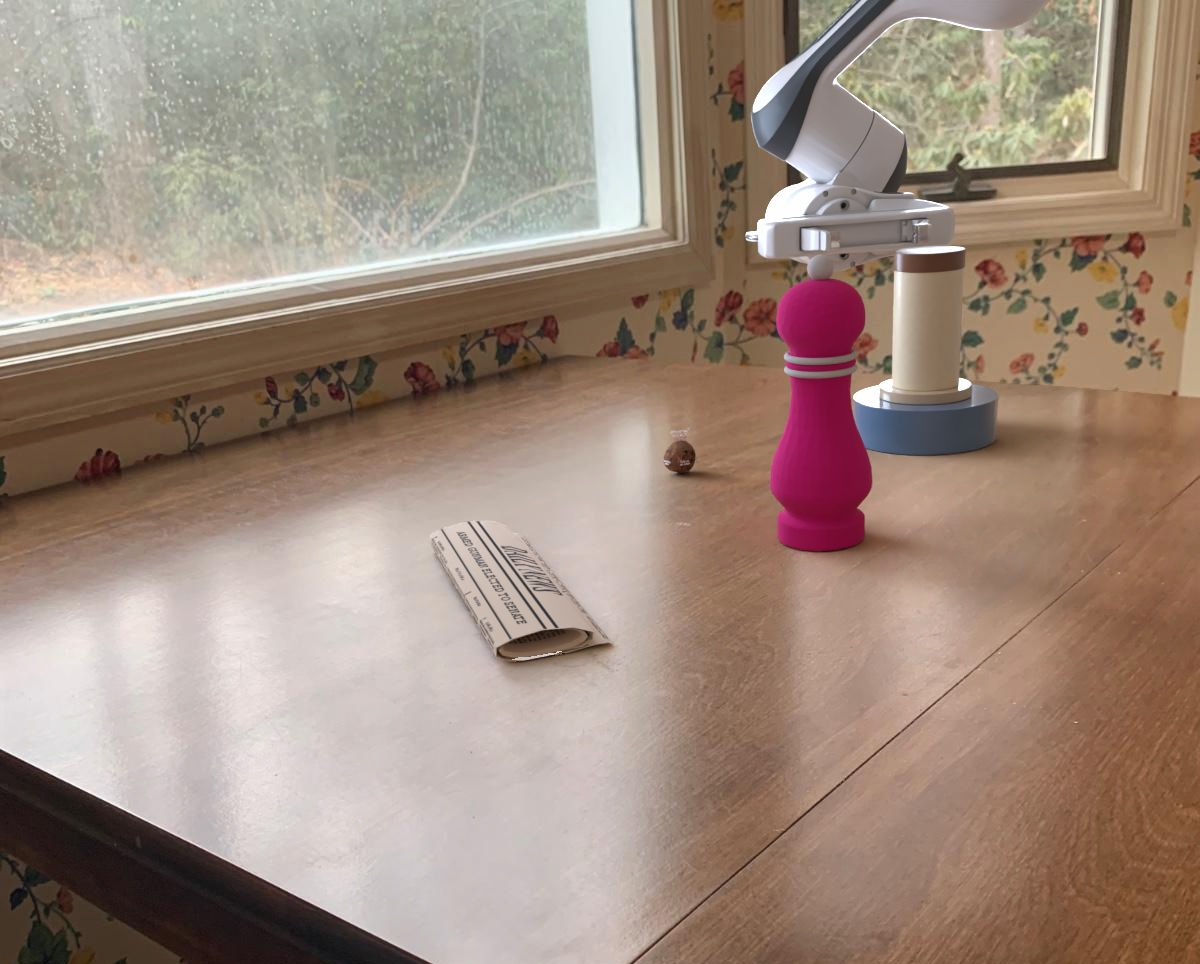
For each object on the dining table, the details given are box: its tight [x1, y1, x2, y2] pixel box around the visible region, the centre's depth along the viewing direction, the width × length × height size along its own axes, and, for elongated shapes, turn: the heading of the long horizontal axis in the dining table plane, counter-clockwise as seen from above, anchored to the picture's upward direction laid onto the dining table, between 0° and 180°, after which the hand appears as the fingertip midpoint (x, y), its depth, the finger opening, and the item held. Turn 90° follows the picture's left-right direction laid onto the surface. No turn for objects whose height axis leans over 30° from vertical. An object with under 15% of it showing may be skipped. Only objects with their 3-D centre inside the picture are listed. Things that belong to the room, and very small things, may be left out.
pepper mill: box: [769, 255, 873, 552], centre depth 85 cm, size 7×7×20 cm
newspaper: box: [428, 519, 613, 662], centre depth 82 cm, size 24×7×2 cm, turn 17°
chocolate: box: [662, 427, 699, 474], centre depth 106 cm, size 3×2×4 cm
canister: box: [891, 245, 967, 391], centre depth 109 cm, size 6×6×12 cm
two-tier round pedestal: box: [852, 377, 1000, 456], centre depth 112 cm, size 13×13×5 cm
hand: (879, 237), depth 118 cm, fingers open, 8 cm apart
